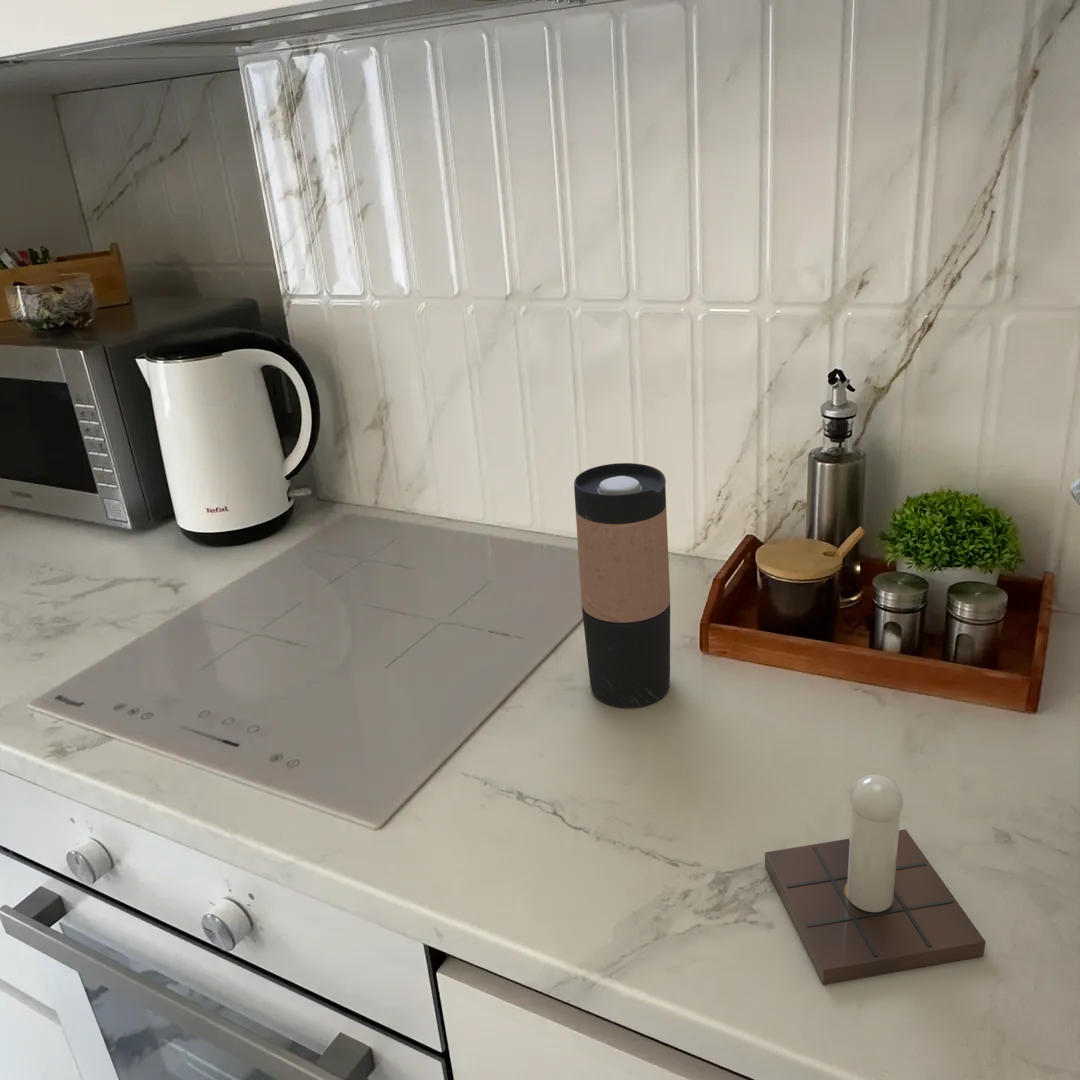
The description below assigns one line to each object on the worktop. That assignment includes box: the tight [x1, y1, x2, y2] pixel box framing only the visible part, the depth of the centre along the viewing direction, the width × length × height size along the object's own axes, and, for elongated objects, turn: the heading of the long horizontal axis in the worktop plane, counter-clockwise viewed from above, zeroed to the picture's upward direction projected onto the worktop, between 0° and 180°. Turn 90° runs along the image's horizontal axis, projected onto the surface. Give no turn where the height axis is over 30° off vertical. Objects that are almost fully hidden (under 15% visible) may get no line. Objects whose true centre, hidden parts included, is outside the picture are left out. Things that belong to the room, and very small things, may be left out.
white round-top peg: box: [847, 773, 904, 912], centre depth 60 cm, size 3×3×9 cm
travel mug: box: [573, 462, 671, 709], centre depth 84 cm, size 8×8×20 cm
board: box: [764, 829, 986, 985], centre depth 62 cm, size 10×10×1 cm
